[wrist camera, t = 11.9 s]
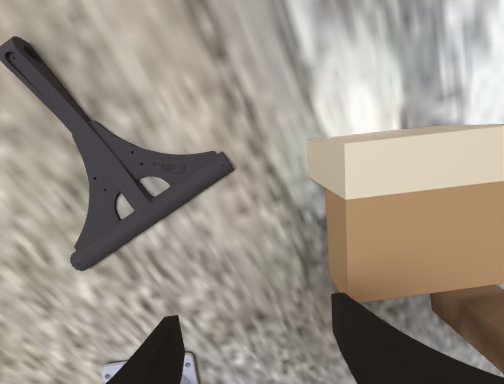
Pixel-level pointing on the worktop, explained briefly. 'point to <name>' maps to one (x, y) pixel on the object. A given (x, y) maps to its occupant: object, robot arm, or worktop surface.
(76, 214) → the worktop surface
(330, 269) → the tan block
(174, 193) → the bracket
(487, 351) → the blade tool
